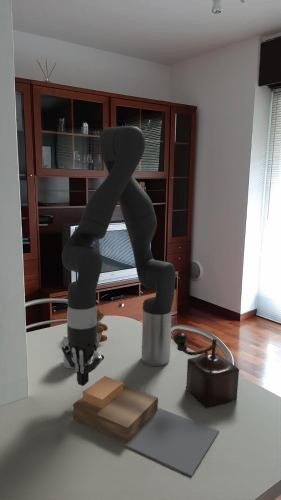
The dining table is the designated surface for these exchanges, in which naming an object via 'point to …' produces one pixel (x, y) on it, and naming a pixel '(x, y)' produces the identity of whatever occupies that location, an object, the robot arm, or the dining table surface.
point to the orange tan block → (103, 391)
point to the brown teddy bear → (100, 327)
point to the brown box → (118, 413)
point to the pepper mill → (209, 375)
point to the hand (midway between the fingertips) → (82, 383)
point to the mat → (173, 441)
